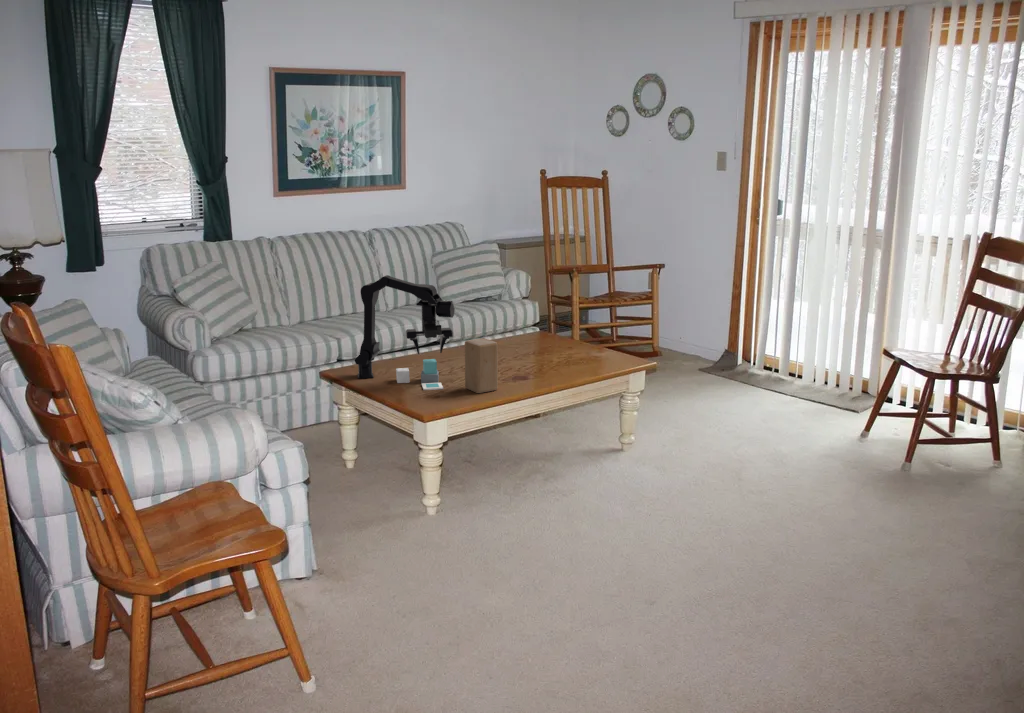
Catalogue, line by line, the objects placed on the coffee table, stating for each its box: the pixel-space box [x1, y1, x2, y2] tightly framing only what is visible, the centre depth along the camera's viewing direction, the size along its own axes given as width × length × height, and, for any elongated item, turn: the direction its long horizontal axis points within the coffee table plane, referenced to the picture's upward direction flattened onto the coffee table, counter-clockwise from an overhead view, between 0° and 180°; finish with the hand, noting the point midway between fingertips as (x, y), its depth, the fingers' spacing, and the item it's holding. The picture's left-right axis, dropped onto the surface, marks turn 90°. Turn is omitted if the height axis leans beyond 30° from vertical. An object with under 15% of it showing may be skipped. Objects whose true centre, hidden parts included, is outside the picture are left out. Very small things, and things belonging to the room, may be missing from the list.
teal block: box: [422, 358, 438, 374], centre depth 373 cm, size 5×5×5 cm
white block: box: [395, 367, 411, 384], centre depth 373 cm, size 5×5×5 cm
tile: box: [421, 382, 444, 391], centre depth 366 cm, size 8×8×1 cm
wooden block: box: [464, 337, 499, 394], centre depth 360 cm, size 10×10×20 cm
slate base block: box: [420, 369, 440, 385], centre depth 374 cm, size 7×7×4 cm
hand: (429, 353), depth 371 cm, fingers open, 9 cm apart
